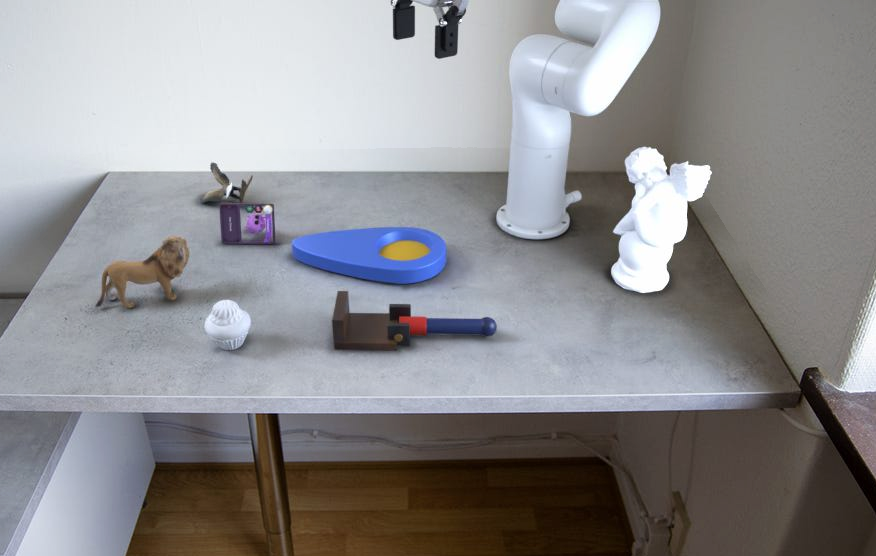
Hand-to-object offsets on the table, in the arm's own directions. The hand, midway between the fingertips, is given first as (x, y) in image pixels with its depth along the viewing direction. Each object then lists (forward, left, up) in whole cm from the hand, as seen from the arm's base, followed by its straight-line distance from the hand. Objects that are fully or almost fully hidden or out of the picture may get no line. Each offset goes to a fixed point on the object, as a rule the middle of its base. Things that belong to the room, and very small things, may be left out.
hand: (424, 47), depth 101 cm
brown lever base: (+15, +9, -35) cm, 39 cm away
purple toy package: (+17, -26, -35) cm, 47 cm away
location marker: (+5, -8, -35) cm, 36 cm away
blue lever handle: (+7, +15, -35) cm, 39 cm away
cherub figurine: (-28, +22, -35) cm, 50 cm away
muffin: (+32, -1, -35) cm, 48 cm away
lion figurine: (+37, -19, -35) cm, 55 cm away
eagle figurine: (+15, -41, -35) cm, 56 cm away
